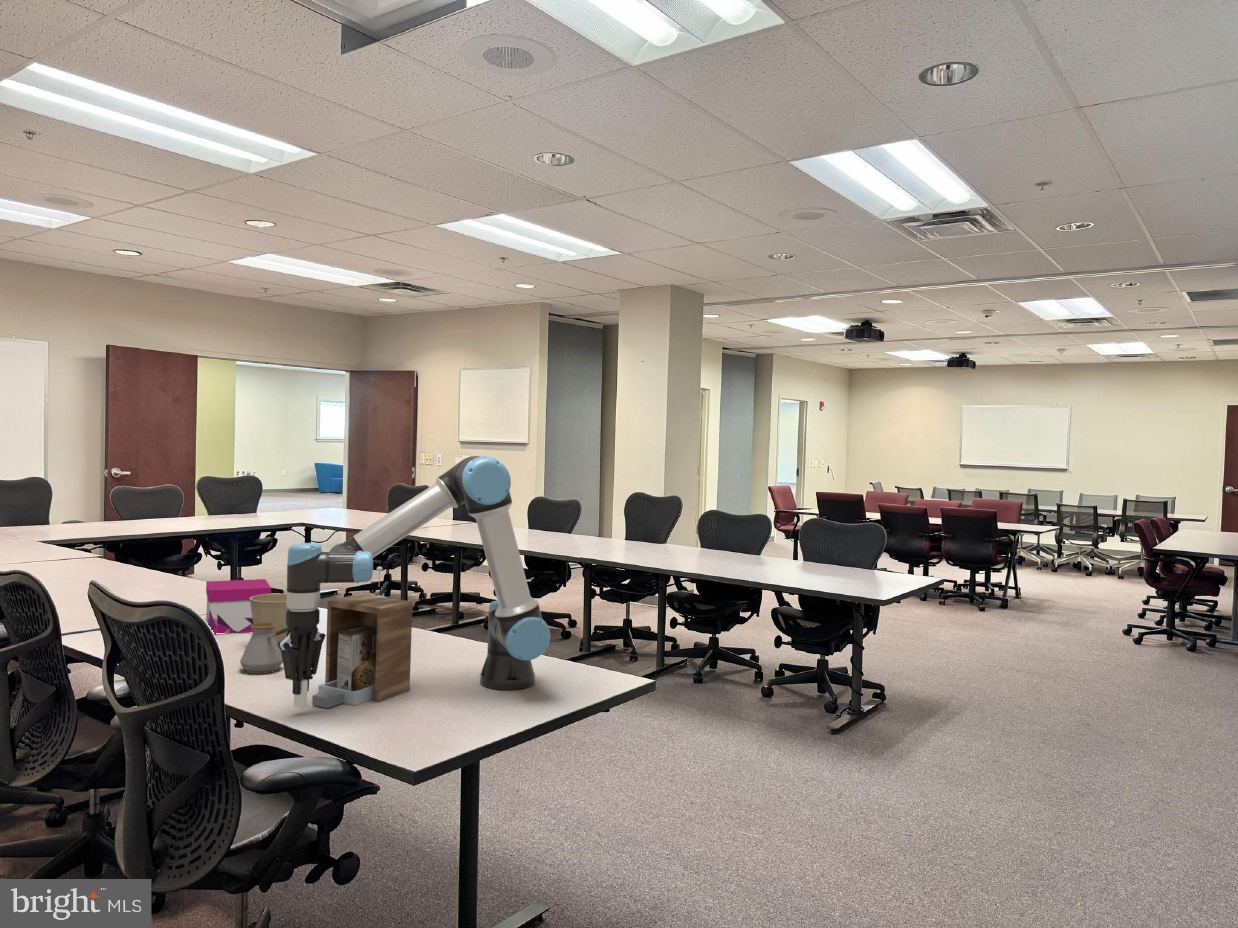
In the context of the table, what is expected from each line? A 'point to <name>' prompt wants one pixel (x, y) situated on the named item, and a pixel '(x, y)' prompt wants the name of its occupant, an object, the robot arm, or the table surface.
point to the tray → (341, 695)
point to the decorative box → (232, 604)
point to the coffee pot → (262, 650)
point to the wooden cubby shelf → (391, 638)
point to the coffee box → (356, 658)
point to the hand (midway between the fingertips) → (300, 706)
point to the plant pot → (270, 611)
